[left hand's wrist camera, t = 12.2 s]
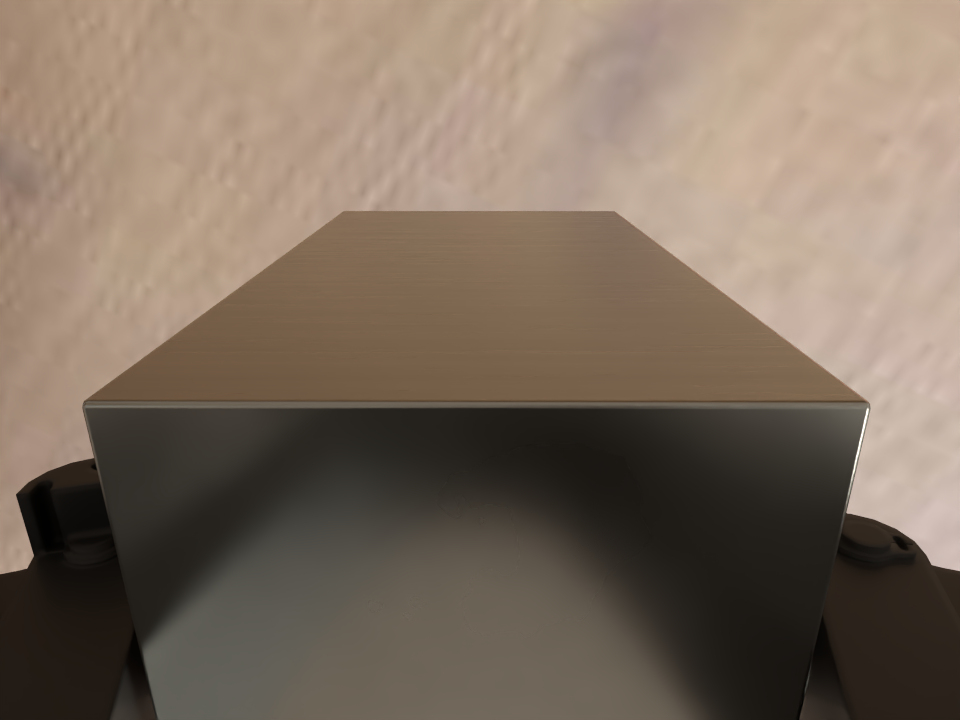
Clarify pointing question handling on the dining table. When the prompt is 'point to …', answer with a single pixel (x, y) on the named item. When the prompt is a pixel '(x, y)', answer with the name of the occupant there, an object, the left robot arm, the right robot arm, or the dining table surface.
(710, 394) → the bar
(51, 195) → the dining table surface
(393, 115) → the dining table surface
